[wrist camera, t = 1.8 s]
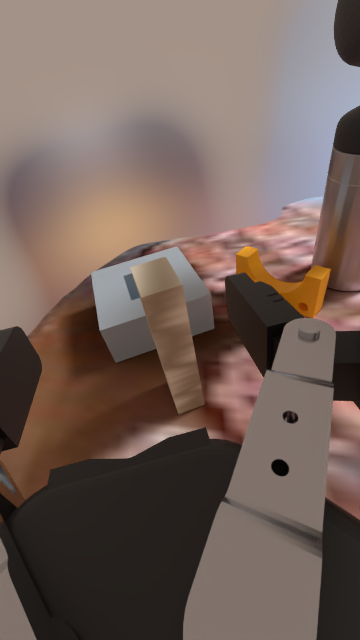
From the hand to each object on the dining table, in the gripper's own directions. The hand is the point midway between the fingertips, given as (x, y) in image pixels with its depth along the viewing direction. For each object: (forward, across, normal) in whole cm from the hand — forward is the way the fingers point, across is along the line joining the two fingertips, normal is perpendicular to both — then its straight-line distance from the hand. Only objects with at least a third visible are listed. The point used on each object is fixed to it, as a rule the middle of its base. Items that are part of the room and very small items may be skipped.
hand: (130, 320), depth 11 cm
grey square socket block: (+27, 0, +17) cm, 32 cm away
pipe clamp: (+23, -17, +18) cm, 34 cm away
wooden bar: (+12, -2, +19) cm, 22 cm away
